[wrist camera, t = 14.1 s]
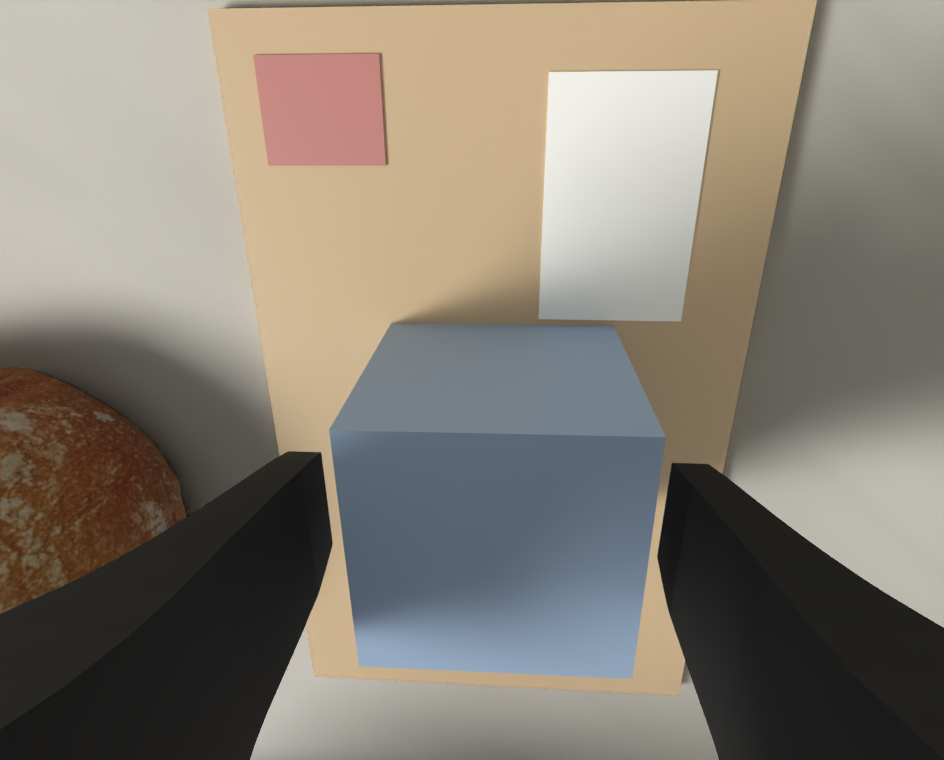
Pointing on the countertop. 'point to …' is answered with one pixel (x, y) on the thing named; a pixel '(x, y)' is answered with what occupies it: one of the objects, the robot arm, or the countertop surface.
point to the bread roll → (72, 486)
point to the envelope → (510, 215)
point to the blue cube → (498, 499)
